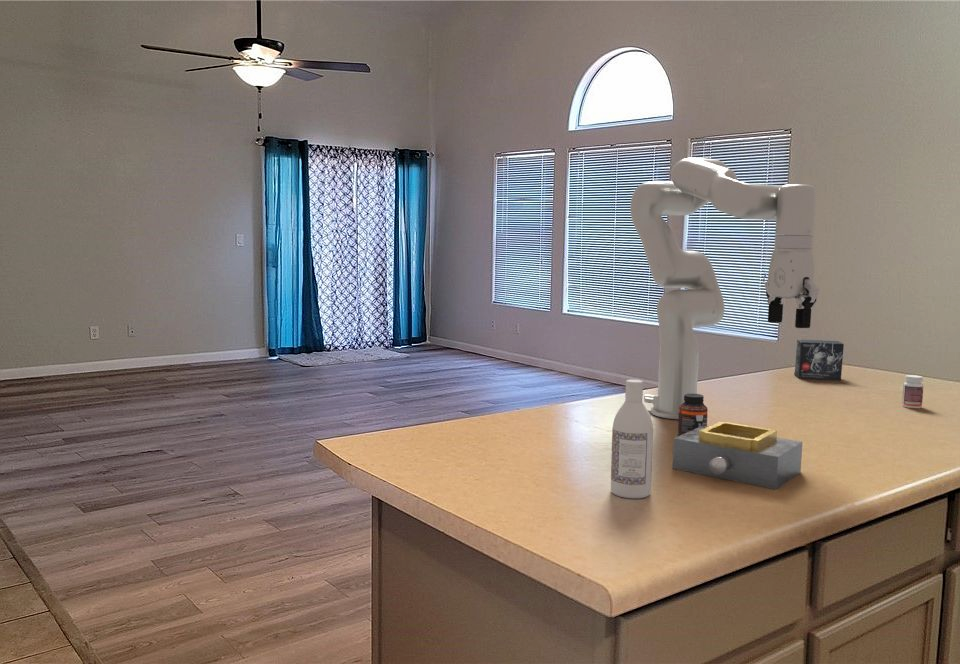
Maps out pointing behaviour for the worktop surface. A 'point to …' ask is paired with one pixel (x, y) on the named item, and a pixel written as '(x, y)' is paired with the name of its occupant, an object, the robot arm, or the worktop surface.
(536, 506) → the worktop surface
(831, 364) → the small box
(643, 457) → the bath foam
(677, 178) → the robot arm
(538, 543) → the worktop surface
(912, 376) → the pill bottle
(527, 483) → the worktop surface
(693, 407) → the supplement bottle
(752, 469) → the grey boxy piece
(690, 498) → the worktop surface
